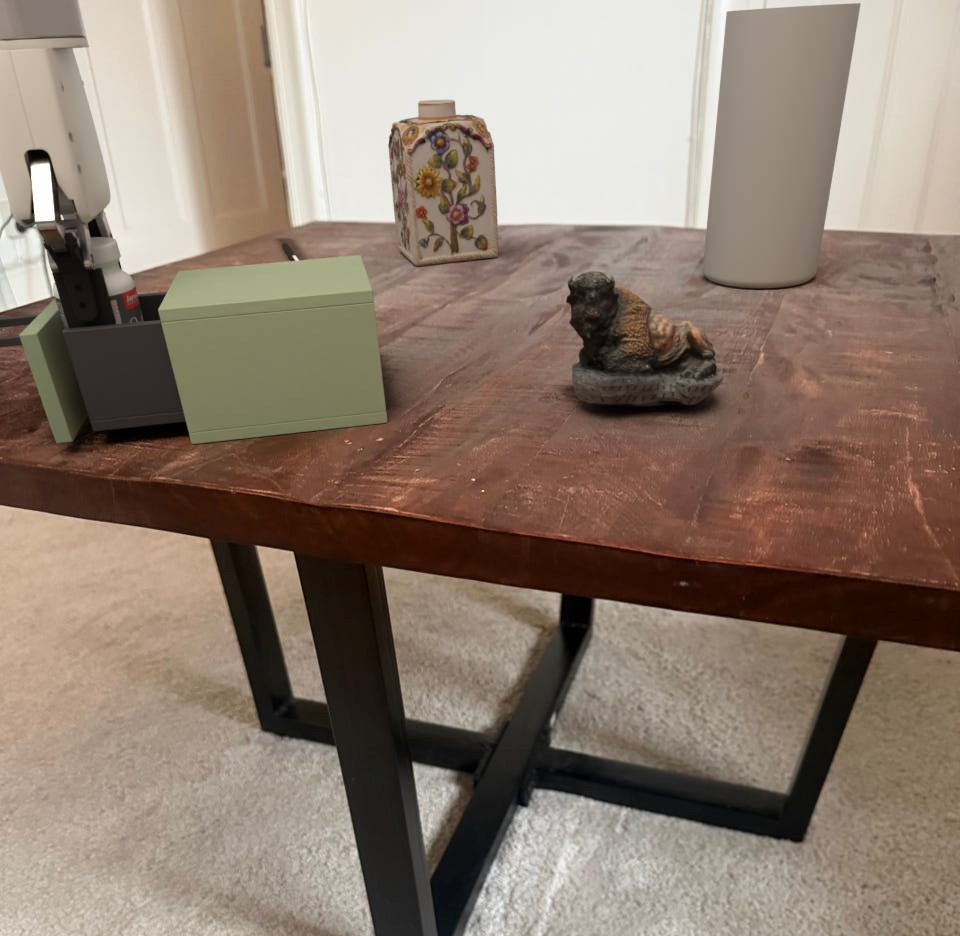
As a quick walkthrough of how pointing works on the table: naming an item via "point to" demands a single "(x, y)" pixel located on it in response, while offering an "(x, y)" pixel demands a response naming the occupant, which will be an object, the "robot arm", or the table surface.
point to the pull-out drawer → (100, 370)
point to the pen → (289, 252)
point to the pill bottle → (112, 283)
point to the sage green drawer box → (274, 348)
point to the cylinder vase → (776, 142)
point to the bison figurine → (635, 349)
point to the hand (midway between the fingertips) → (101, 315)
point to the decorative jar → (443, 186)
